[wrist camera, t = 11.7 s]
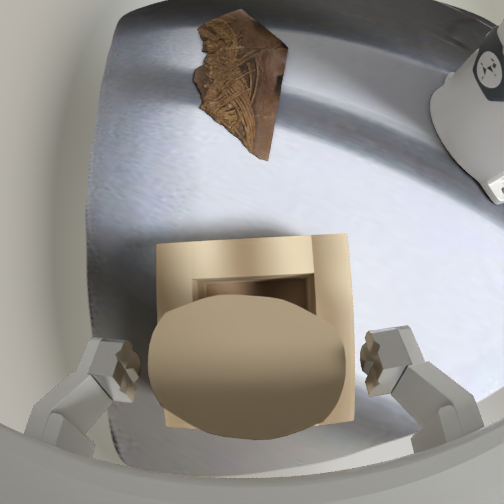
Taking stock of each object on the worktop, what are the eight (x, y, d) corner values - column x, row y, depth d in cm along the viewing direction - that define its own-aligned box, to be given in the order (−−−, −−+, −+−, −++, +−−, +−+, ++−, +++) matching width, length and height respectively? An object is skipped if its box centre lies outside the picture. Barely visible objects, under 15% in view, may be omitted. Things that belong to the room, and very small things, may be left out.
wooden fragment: (199, 16, 32) (198, 11, 31) (277, 10, 32) (277, 4, 31) (192, 168, 27) (190, 164, 26) (309, 159, 27) (310, 154, 26)
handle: (221, 299, 24) (152, 286, 9) (300, 304, 24) (351, 301, 9) (216, 357, 23) (146, 422, 9) (295, 363, 23) (335, 441, 8)
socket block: (330, 248, 25) (347, 233, 20) (336, 398, 23) (353, 420, 17) (178, 256, 26) (156, 243, 20) (185, 403, 23) (166, 426, 18)
